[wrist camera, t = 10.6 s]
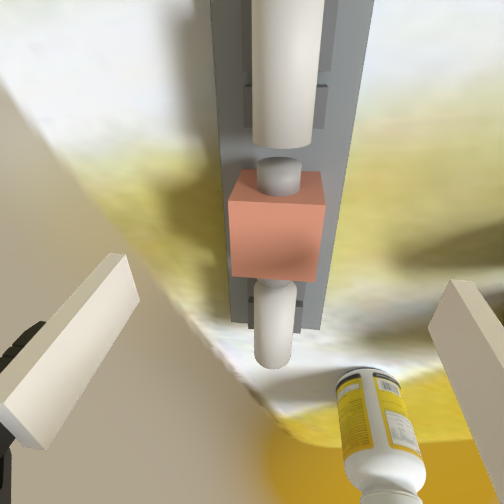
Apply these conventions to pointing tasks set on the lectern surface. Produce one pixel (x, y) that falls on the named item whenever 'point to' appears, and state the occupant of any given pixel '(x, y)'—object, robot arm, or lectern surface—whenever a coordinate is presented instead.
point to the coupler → (276, 222)
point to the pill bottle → (378, 439)
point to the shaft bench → (308, 155)
